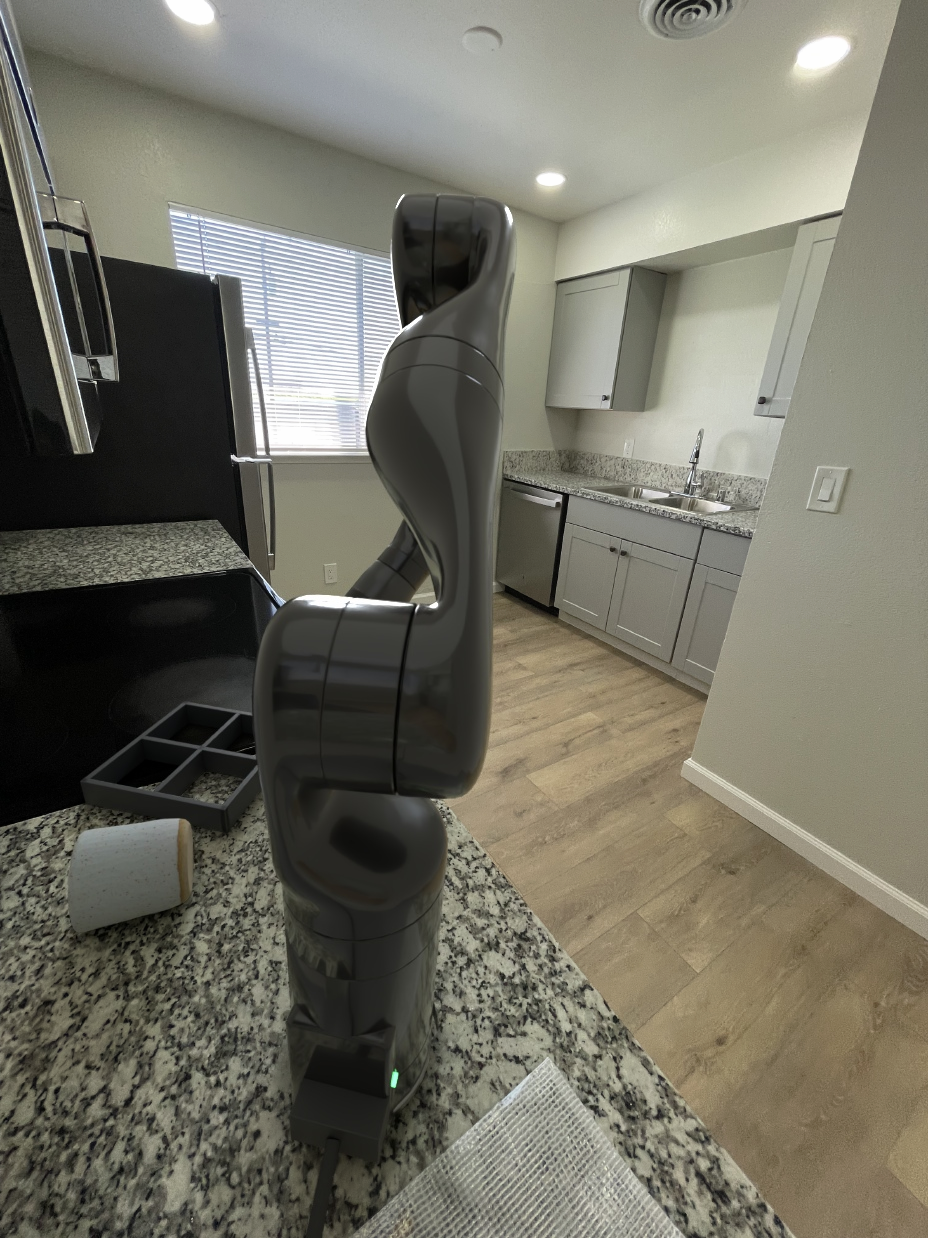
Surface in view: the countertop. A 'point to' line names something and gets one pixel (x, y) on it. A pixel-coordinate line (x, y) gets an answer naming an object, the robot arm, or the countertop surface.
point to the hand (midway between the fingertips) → (298, 698)
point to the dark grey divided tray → (180, 769)
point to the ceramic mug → (129, 872)
